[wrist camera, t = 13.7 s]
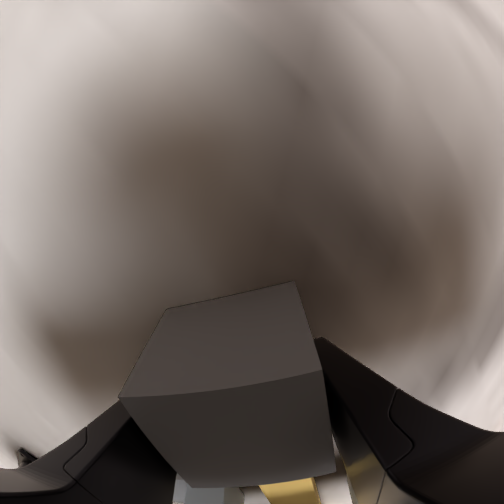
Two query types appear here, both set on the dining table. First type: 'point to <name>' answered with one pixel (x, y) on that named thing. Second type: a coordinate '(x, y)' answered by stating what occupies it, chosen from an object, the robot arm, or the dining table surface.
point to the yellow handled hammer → (237, 395)
